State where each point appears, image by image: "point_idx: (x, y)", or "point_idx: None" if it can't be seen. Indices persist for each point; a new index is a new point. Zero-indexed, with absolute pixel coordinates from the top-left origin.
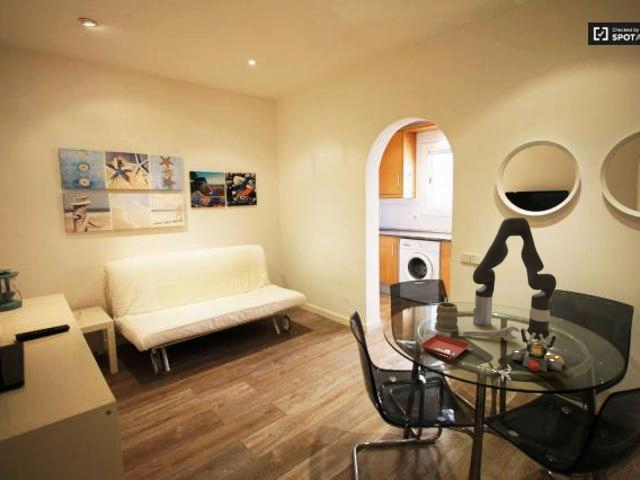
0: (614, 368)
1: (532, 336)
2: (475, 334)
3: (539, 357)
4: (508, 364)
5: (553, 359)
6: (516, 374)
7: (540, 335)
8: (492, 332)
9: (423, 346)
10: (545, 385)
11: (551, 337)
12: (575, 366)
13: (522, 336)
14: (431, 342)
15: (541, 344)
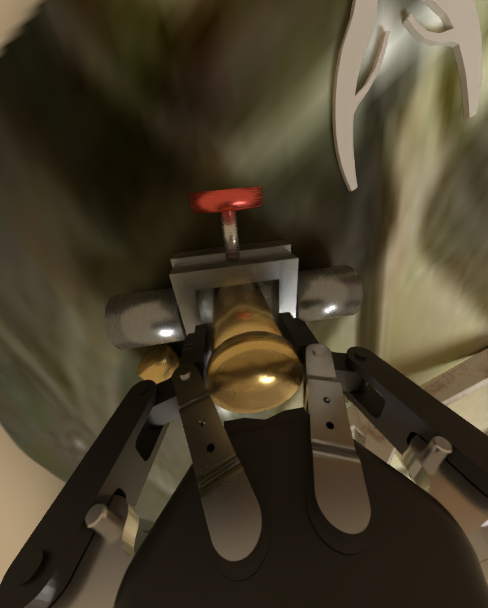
0: (28, 442)
1: (332, 431)
2: (472, 367)
3: (220, 304)
4: (351, 190)
5: (155, 336)
6: (298, 70)
7: (240, 507)
8: None
9: None
10: (91, 10)
11: (101, 536)
12: (116, 381)
13: (412, 387)
14: None
15: (224, 391)
